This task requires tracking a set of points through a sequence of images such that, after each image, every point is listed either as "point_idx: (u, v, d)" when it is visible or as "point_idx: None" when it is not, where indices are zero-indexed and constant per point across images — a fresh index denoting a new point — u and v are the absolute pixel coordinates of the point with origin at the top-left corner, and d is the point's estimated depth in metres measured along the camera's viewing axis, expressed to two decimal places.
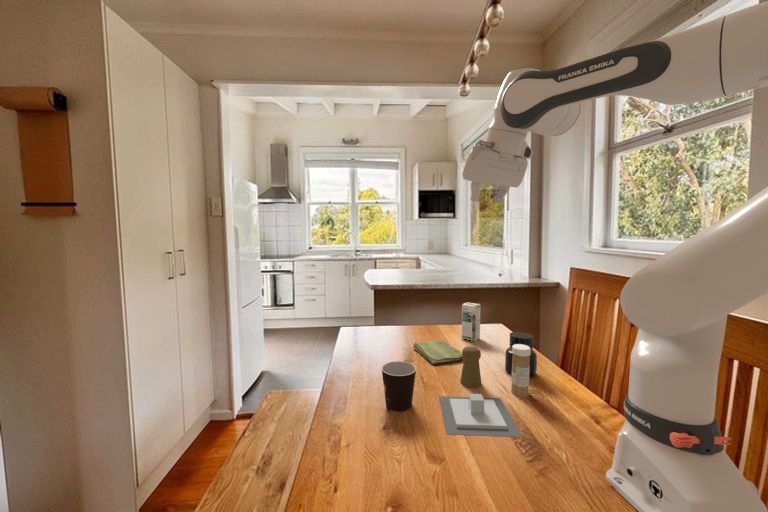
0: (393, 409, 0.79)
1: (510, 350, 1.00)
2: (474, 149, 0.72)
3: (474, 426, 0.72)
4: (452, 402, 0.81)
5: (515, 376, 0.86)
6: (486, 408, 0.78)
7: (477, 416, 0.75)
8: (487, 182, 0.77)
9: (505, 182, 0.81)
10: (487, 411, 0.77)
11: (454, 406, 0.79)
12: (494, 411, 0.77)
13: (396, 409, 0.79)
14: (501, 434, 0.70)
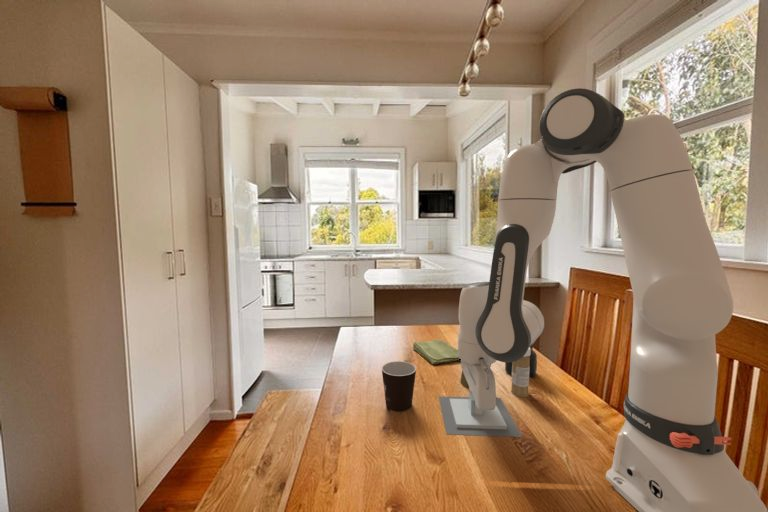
0: (393, 409, 0.79)
1: None
2: (489, 380, 0.66)
3: (474, 426, 0.72)
4: (452, 402, 0.81)
5: (515, 376, 0.86)
6: None
7: (477, 416, 0.75)
8: None
9: None
10: (487, 411, 0.77)
11: (454, 406, 0.79)
12: (494, 411, 0.77)
13: (396, 409, 0.79)
14: (501, 434, 0.70)
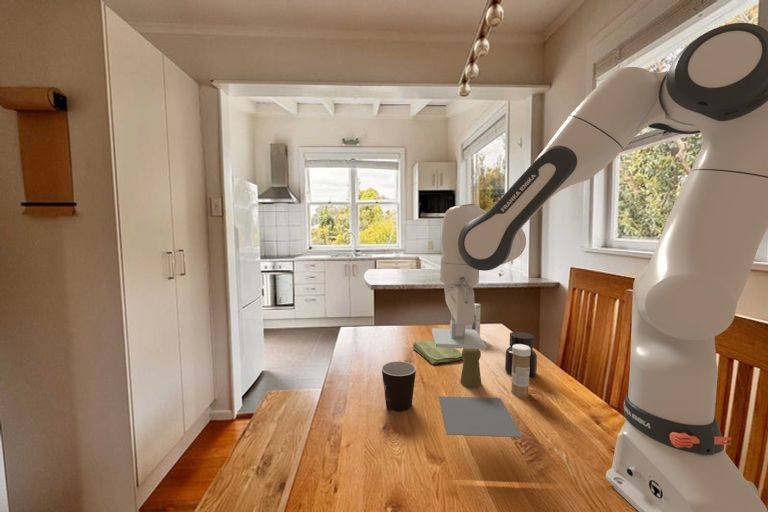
0: (393, 409, 0.79)
1: (510, 350, 1.00)
2: (468, 293, 0.66)
3: (453, 346, 0.72)
4: (434, 330, 0.81)
5: (515, 376, 0.86)
6: (467, 334, 0.79)
7: (457, 339, 0.75)
8: None
9: None
10: (468, 336, 0.77)
11: (435, 332, 0.80)
12: (475, 336, 0.77)
13: (396, 409, 0.79)
14: (501, 434, 0.70)
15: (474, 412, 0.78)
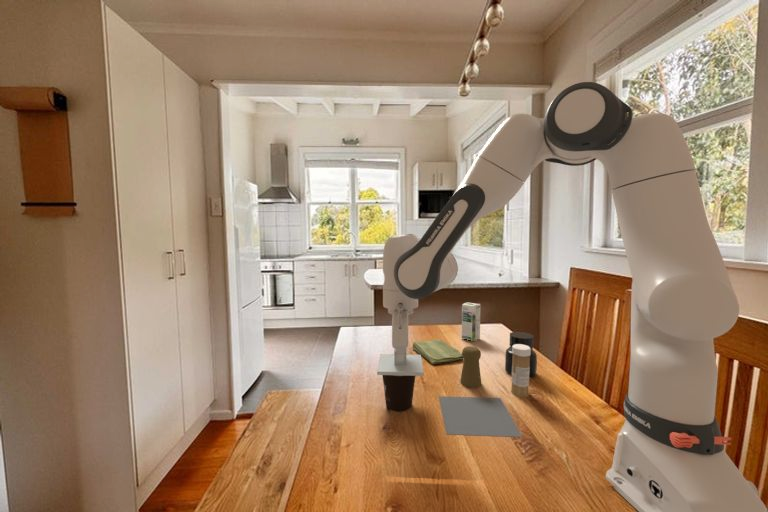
0: (393, 409, 0.79)
1: (510, 350, 1.00)
2: (401, 319, 0.71)
3: (393, 373, 0.77)
4: (381, 356, 0.86)
5: (515, 376, 0.86)
6: (411, 360, 0.84)
7: (399, 366, 0.80)
8: None
9: None
10: (410, 362, 0.83)
11: (381, 359, 0.85)
12: (417, 362, 0.83)
13: (396, 409, 0.79)
14: (501, 434, 0.70)
15: (474, 412, 0.78)
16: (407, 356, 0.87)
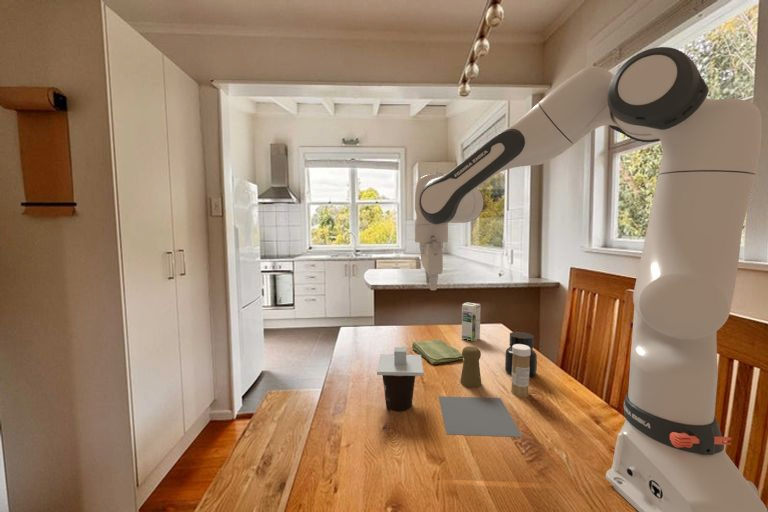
0: (393, 409, 0.79)
1: (510, 350, 1.00)
2: (436, 246, 0.78)
3: (393, 373, 0.77)
4: (381, 356, 0.86)
5: (515, 376, 0.86)
6: (411, 360, 0.84)
7: (399, 366, 0.80)
8: None
9: None
10: (410, 362, 0.82)
11: (381, 359, 0.85)
12: (417, 362, 0.82)
13: (396, 409, 0.79)
14: (501, 434, 0.70)
15: (474, 412, 0.78)
16: (407, 356, 0.87)
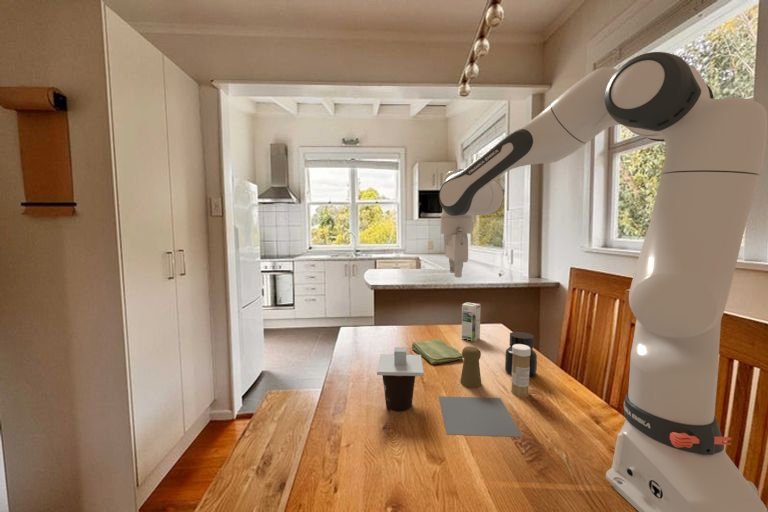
0: (393, 409, 0.79)
1: (510, 350, 1.00)
2: (463, 236, 0.85)
3: (393, 373, 0.77)
4: (381, 356, 0.86)
5: (515, 376, 0.86)
6: (411, 360, 0.84)
7: (399, 366, 0.80)
8: None
9: None
10: (410, 362, 0.82)
11: (381, 359, 0.85)
12: (417, 362, 0.82)
13: (396, 409, 0.79)
14: (501, 434, 0.70)
15: (474, 412, 0.78)
16: (407, 356, 0.87)
